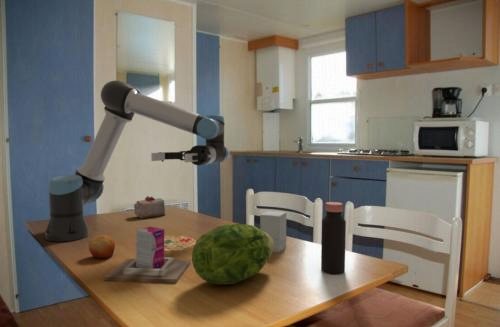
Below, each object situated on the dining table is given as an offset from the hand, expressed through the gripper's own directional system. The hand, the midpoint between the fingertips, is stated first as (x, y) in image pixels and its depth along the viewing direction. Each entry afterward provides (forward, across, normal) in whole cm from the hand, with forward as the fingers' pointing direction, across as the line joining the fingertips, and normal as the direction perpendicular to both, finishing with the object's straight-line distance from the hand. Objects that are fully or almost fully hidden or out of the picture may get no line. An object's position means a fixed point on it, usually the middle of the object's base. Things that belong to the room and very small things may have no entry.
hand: (168, 157), depth 132 cm
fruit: (+14, +16, -32) cm, 39 cm away
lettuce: (+13, -32, -32) cm, 47 cm away
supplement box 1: (+19, -7, -31) cm, 37 cm away
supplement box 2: (-19, -31, -32) cm, 48 cm away
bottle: (-5, -55, -32) cm, 64 cm away
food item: (-44, +44, -32) cm, 70 cm away
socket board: (+19, -7, -32) cm, 38 cm away
